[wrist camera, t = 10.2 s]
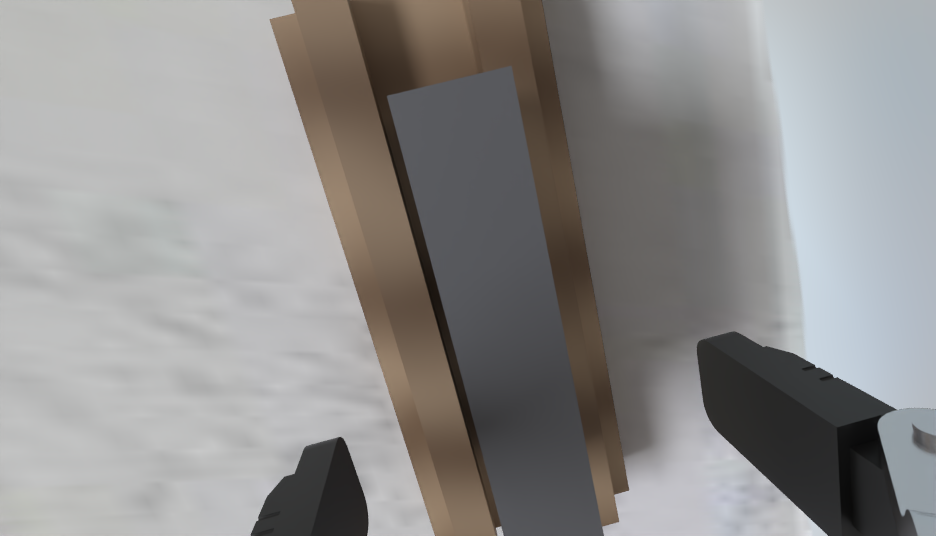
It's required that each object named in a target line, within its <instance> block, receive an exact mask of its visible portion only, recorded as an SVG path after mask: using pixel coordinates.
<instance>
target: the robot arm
mask: <svg viewBox="0 0 936 536" xmlns="http://www.w3.org/2000/svg"><path fill="white" fill-rule="evenodd" d="M697 356H698V364H699V372H700V380H701V387H702V395H703V403H704V407H705V410H706V413H707V415H708V418H709V420H710V421H711V423H712V425H713V426H714V428H715V429H716V430H717V431H718V432H719V433H720V434H721V435H722V436H723V437H724V438H725V439H726V440H727V441H728V442H729V443H730V444H732V445H733V446H734V447H735V448H736V449H737V450H738V451H739V452H740V453H741V454H742V455H743V456H744V457H745V458H746V459H747V460H749V461H750V462H751V463H752V464H753V465H754V466H755V467H756V468H757V469H758V470H759V471H760V472H761V473H762V474H763V475H764V476H766V477H767V478H768V479H769V480H770V481H771V482H772V483H773V484H774V485H775V486H776V487H777V488H778V489H779V490H780V491H781V492H782V493H784V494H785V495H786V496H787V497H788V498H789V499H790V500H791V501H792V502H793V503H794V504H795V505H796V506H797V507H798V508H799V509H801V510H802V511H803V512H804V513H805V514H806V515H807V516H808V517H809V518H810V519H811V520H812V521H813V522H814V523H815V524H817V525H818V526H819V527H820V528H821V529H822V530H823V531H824V532H825V533H826V534H827V535H828V536H936V409H928V408H907V409H900V410H896V409H895V408H893V407H891V406H889V405H887V404H885V403H883V402H882V401H880V400H878V399H876V398H874V397H872V396H871V395H869V394H867V393H865V392H863V391H861V390H860V389H858V388H856V387H854V386H852V385H850V384H848V383H846V382H845V381H843V380H841V379H839V378H838V377H837V378H834V377H833V375H832V374H830V373H828V372H826V371H825V370H823V369H821V368H816V367H815V365H814V364H812V363H810V362H808V361H806V360H805V359H803V358H801V357H799V356H797V355H795V354H793V353H790V352H786V351H782V350H778V349H775V348H771V347H767V346H766V347H762V346H760V345H759V344H757V343H755V342H753V341H752V340H750V339H748V338H746V337H745V336H743V335H741V334H739V333H737V332H729V333H726V334H722V335H718V336H714V337H711V338H707V339H703V340H701V341H699V342H698V345H697ZM258 518H259V521H256V524H255V526H254V528H253V530H252V533H251V536H367V533H368V510H367V504H366V500H365V496H364V493H363V490H362V487H361V485H360V482H359V479H358V476H357V473H356V470H355V467H354V465H353V462H352V459H351V456H350V453H349V450H348V447H347V445H346V443H345V441H344V439H343V438H341V437H338V438H334V439H331V440H327V441H323V442H320V443H316V444H312V445H309V446H306V447H305V448H304V451H303V453H302V456H301V459H300V461H299V464H298V466H297V469H296V472H295V474H293V475H289V476H286V477H284V478H283V479H282V480H281V481H280V482H279V484H278V485H277V486H276V487H275V488H274V489H273V491H272V492H271V493H270V494H269V495H268V496H267V498H266V500H265V503H264V505H263V507H262V510H261V512H260V514H259V517H258Z"/></svg>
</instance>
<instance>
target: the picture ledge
mask: <svg viewBox="0 0 936 536" xmlns="http://www.w3.org/2000/svg"><path fill="white" fill-rule="evenodd" d="M291 1H292V4H293V7H294V10H295V13H294V14H290V15H286V16H282V17H277V18H273V19H270V22H271V25H272V29H273V32H274V35H275V38H276V41H277V44H278V47H279V50H280V54H281V57H282V60H283V63H284V66H285V69H286V72H287V75H288V78H289V82H290V85H291V88H292V91H293V94H294V97H295V100H296V103H297V107H298V110H299V113H300V116H301V119H302V122H303V125H304V128H305V131H306V135H307V138H308V141H309V144H310V147H311V150H312V153H313V156H314V160H315V163H316V166H317V169H318V172H319V175H320V178H321V181H322V185H323V188H324V191H325V194H326V197H327V200H328V203H329V206H330V209H331V213H332V216H333V219H334V222H335V225H336V228H337V231H338V234H339V238H340V241H341V244H342V247H343V250H344V253H345V256H346V259H347V263H348V266H349V269H350V272H351V275H352V278H353V281H354V284H355V287H356V291H357V294H358V297H359V300H360V303H361V306H362V309H363V312H364V316H365V319H366V322H367V325H368V328H369V331H370V334H371V337H372V340H373V344H374V347H375V350H376V353H377V356H378V359H379V362H380V365H381V369H382V372H383V375H384V378H385V381H386V384H387V387H388V390H389V394H390V397H391V400H392V403H393V406H394V409H395V412H396V415H397V418H398V422H399V425H400V428H401V431H402V434H403V437H404V440H405V443H406V447H407V450H408V453H409V456H410V459H411V462H412V465H413V468H414V472H415V475H416V478H417V481H418V484H419V487H420V490H421V493H422V496H423V500H424V503H425V506H426V509H427V512H428V515H429V518H430V521H431V525H432V528H433V531H434V534H435V536H497V532H496V527H500V526H501V523H500V519H499V515H498V511H497V508H496V504H495V500H494V496H493V493H492V489H491V485H490V481H489V478H488V474H487V470H486V466H485V463H484V459H483V455H482V451H481V447H480V444H479V440H478V436H477V432H476V429H475V425H474V421H473V417H472V414H471V410H470V406H469V402H468V399H467V395H466V391H465V387H464V384H463V380H462V376H461V372H460V369H459V365H458V361H457V357H456V354H455V350H454V346H453V342H452V339H451V335H450V331H449V327H448V324H447V320H446V316H445V312H444V309H443V305H442V301H441V297H440V294H439V290H438V286H437V282H436V279H435V275H434V271H433V267H432V264H431V260H430V256H429V252H428V249H427V245H426V241H425V237H424V234H423V230H422V226H421V222H420V219H419V215H418V211H417V207H416V204H415V200H414V196H413V192H412V189H411V185H410V181H409V177H408V174H407V170H406V166H405V162H404V159H403V155H402V151H401V147H400V144H399V140H398V136H397V132H396V129H395V125H394V121H393V117H392V114H391V110H390V106H389V102H388V98H387V96H388V95H392V94H396V93H401V92H405V91H409V90H413V89H417V88H421V87H425V86H429V85H434V84H438V83H442V82H446V81H450V80H454V79H458V78H463V77H467V76H471V75H475V74H479V73H483V72H487V71H492V70H496V69H500V68H504V67H508V66H512V71H513V76H514V81H515V86H516V91H517V96H518V101H519V107H520V112H521V117H522V122H523V127H524V132H525V137H526V142H527V147H528V152H529V157H530V163H531V168H532V173H533V178H534V183H535V188H536V193H537V198H538V203H539V208H540V213H541V219H542V224H543V229H544V234H545V239H546V244H547V249H548V254H549V259H550V264H551V269H552V275H553V280H554V285H555V290H556V295H557V300H558V305H559V310H560V315H561V320H562V325H563V331H564V336H565V341H566V346H567V351H568V356H569V361H570V366H571V371H572V376H573V381H574V387H575V392H576V397H577V402H578V407H579V412H580V417H581V422H582V427H583V432H584V437H585V443H586V448H587V453H588V458H589V463H590V468H591V473H592V478H593V483H594V488H595V493H596V499H597V504H598V509H599V514H600V519H601V524H602V526H606V525H609V524H613V523H616V522H619V518H618V513H617V508H616V503H615V497H614V495H615V494H618V493H622V492H625V491H629V487H628V481H627V476H626V470H625V465H624V459H623V453H622V448H621V442H620V437H619V431H618V425H617V420H616V414H615V409H614V403H613V397H612V392H611V386H610V380H609V375H608V369H607V364H606V358H605V352H604V347H603V341H602V336H601V330H600V324H599V319H598V313H597V308H596V302H595V296H594V291H593V285H592V280H591V274H590V268H589V263H588V257H587V252H586V246H585V240H584V235H583V229H582V223H581V218H580V212H579V207H578V201H577V195H576V190H575V184H574V179H573V173H572V167H571V162H570V156H569V151H568V145H567V139H566V134H565V128H564V123H563V117H562V111H561V106H560V100H559V95H558V89H557V83H556V78H555V72H554V67H553V61H552V55H551V50H550V44H549V38H548V33H547V27H546V22H545V16H544V10H543V5H542V0H291Z"/></svg>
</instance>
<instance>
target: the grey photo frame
mask: <svg viewBox="0 0 936 536" xmlns="http://www.w3.org/2000/svg"><path fill="white" fill-rule="evenodd" d="M387 98H388V102H389V106H390V110H391V114H392V117H393V121H394V125H395V129H396V132H397V136H398V140H399V144H400V147H401V151H402V155H403V159H404V162H405V166H406V170H407V174H408V177H409V181H410V185H411V189H412V192H413V196H414V200H415V204H416V207H417V211H418V215H419V219H420V222H421V226H422V230H423V234H424V237H425V241H426V245H427V249H428V252H429V256H430V260H431V264H432V267H433V271H434V275H435V279H436V282H437V286H438V290H439V294H440V297H441V301H442V305H443V309H444V312H445V316H446V320H447V324H448V327H449V331H450V335H451V339H452V342H453V346H454V350H455V354H456V357H457V361H458V365H459V369H460V372H461V376H462V380H463V384H464V387H465V391H466V395H467V399H468V402H469V406H470V410H471V414H472V417H473V421H474V425H475V429H476V432H477V436H478V440H479V444H480V447H481V451H482V455H483V459H484V463H485V466H486V470H487V474H488V478H489V481H490V485H491V489H492V493H493V496H494V500H495V504H496V508H497V511H498V515H499V519H500V523H501V526H502V530H503V534H504V536H604V534H603V529H602V524H601V519H600V514H599V509H598V504H597V499H596V493H595V488H594V483H593V478H592V473H591V468H590V463H589V458H588V453H587V448H586V443H585V437H584V432H583V427H582V422H581V417H580V412H579V407H578V402H577V397H576V392H575V387H574V381H573V376H572V371H571V366H570V361H569V356H568V351H567V346H566V341H565V336H564V331H563V325H562V320H561V315H560V310H559V305H558V300H557V295H556V290H555V285H554V280H553V275H552V269H551V264H550V259H549V254H548V249H547V244H546V239H545V234H544V229H543V224H542V219H541V213H540V208H539V203H538V198H537V193H536V188H535V183H534V178H533V173H532V168H531V163H530V157H529V152H528V147H527V142H526V137H525V132H524V127H523V122H522V117H521V112H520V107H519V101H518V96H517V91H516V86H515V81H514V76H513V71H512V66H508V67H504V68H500V69H496V70H492V71H487V72H483V73H479V74H475V75H471V76H467V77H463V78H458V79H454V80H450V81H446V82H442V83H438V84H434V85H429V86H425V87H421V88H417V89H413V90H409V91H405V92H401V93H396V94H392V95H388V96H387Z"/></svg>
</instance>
